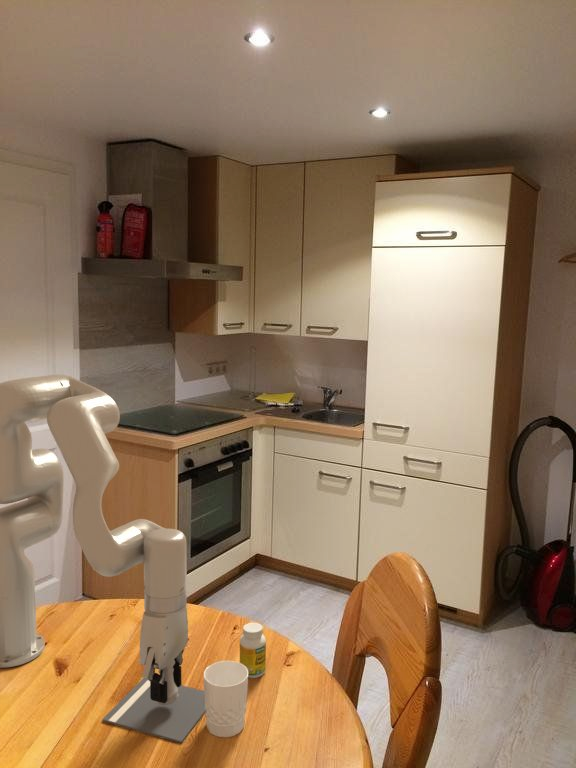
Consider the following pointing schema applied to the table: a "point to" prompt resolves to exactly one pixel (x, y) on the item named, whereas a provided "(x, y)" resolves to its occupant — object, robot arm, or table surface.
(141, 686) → the mat
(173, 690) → the rook chess piece
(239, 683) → the white cup
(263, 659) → the supplement bottle
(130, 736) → the table surface
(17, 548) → the robot arm
